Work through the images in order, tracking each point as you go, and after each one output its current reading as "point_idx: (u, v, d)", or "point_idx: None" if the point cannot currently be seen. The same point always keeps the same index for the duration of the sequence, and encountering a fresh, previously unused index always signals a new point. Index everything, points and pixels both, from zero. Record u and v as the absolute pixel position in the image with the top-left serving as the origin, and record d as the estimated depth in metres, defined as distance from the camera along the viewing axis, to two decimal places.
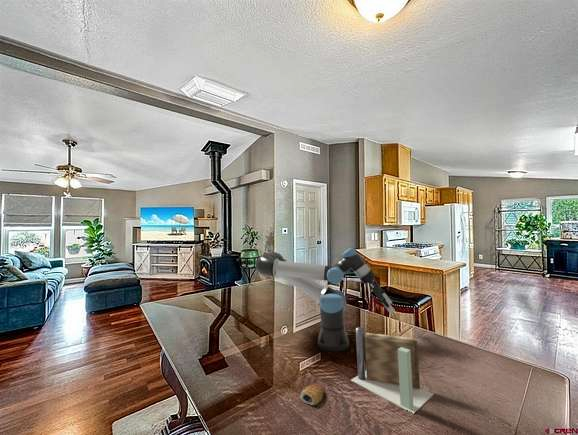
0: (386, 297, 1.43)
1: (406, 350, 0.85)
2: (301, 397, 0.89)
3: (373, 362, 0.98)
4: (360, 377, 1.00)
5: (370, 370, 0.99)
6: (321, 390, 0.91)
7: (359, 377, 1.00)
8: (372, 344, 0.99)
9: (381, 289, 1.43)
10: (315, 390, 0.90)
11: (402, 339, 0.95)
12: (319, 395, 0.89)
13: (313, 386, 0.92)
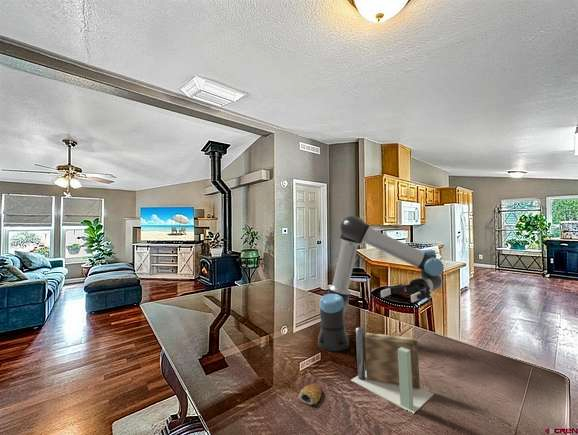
0: (387, 293, 1.17)
1: (406, 350, 0.85)
2: (299, 397, 0.89)
3: (373, 362, 0.98)
4: (360, 377, 1.00)
5: (370, 370, 0.99)
6: (319, 390, 0.92)
7: (359, 377, 1.00)
8: (372, 344, 0.99)
9: (394, 292, 1.20)
10: (313, 390, 0.90)
11: (402, 339, 0.95)
12: (318, 395, 0.89)
13: (311, 386, 0.92)
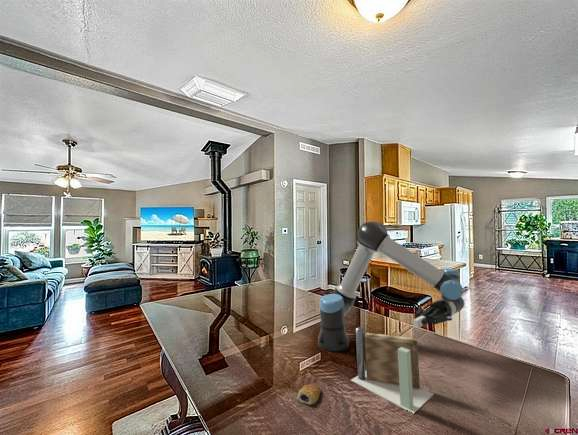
0: None
1: (406, 350, 0.85)
2: (298, 397, 0.89)
3: (373, 362, 0.98)
4: (360, 377, 1.00)
5: (370, 370, 0.99)
6: (318, 389, 0.92)
7: (359, 377, 1.00)
8: (372, 344, 0.99)
9: None
10: (312, 389, 0.90)
11: (402, 339, 0.95)
12: (316, 394, 0.89)
13: (310, 385, 0.93)
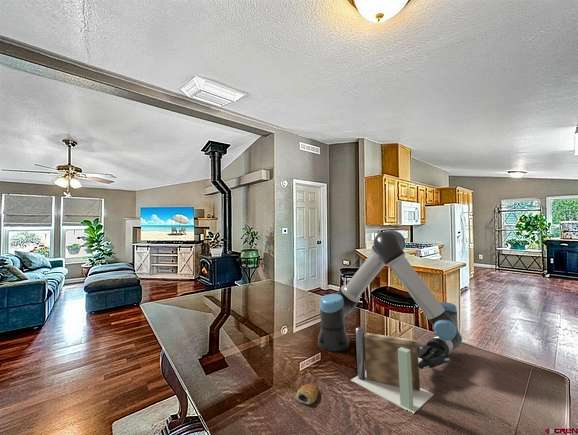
0: None
1: (406, 350, 0.85)
2: (296, 397, 0.89)
3: (373, 362, 0.98)
4: (360, 377, 1.00)
5: (370, 370, 0.99)
6: (316, 389, 0.92)
7: (359, 377, 1.00)
8: (371, 345, 0.99)
9: None
10: (310, 389, 0.90)
11: (402, 340, 0.94)
12: (315, 394, 0.90)
13: (308, 385, 0.93)
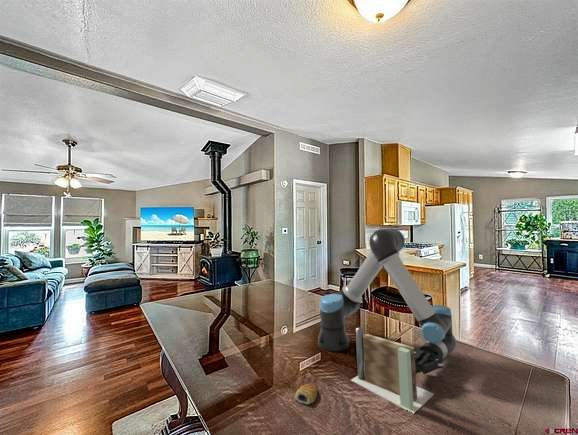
0: None
1: (406, 350, 0.85)
2: (296, 397, 0.89)
3: (371, 364, 0.97)
4: (360, 377, 1.00)
5: (368, 371, 0.98)
6: (315, 389, 0.92)
7: (359, 377, 1.00)
8: (369, 346, 0.98)
9: None
10: (310, 389, 0.90)
11: (398, 345, 0.90)
12: (314, 394, 0.90)
13: (307, 385, 0.93)
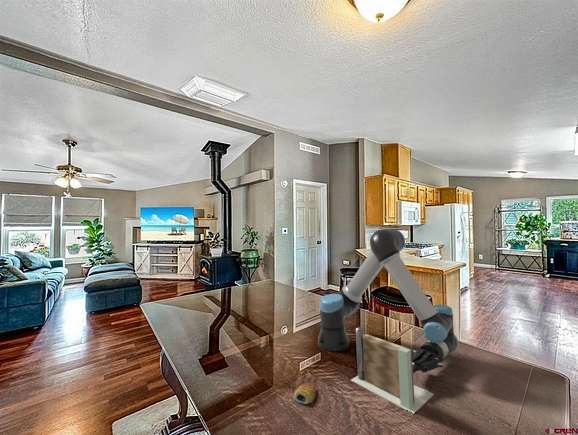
0: None
1: (406, 350, 0.85)
2: (294, 397, 0.89)
3: (370, 364, 0.97)
4: (360, 377, 1.00)
5: (367, 372, 0.98)
6: (313, 389, 0.92)
7: (359, 377, 1.00)
8: (368, 346, 0.97)
9: None
10: (308, 389, 0.91)
11: (395, 347, 0.89)
12: (313, 394, 0.90)
13: (305, 385, 0.93)
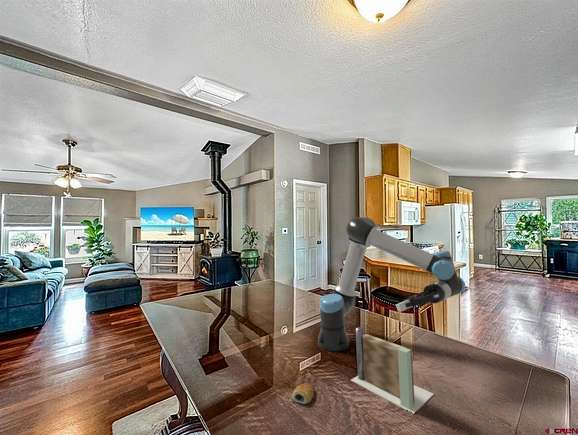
0: None
1: (406, 350, 0.85)
2: (293, 397, 0.89)
3: (370, 364, 0.97)
4: (360, 377, 1.00)
5: (367, 372, 0.98)
6: (312, 388, 0.93)
7: (359, 377, 1.00)
8: (368, 346, 0.97)
9: None
10: (306, 389, 0.91)
11: (395, 347, 0.89)
12: (311, 393, 0.90)
13: (304, 385, 0.93)
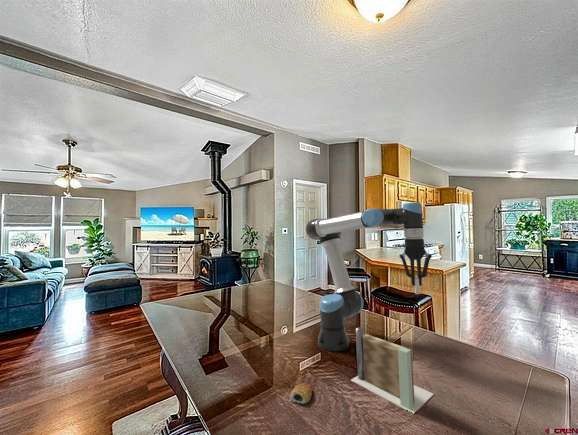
0: None
1: (406, 350, 0.85)
2: (291, 397, 0.89)
3: (370, 364, 0.97)
4: (360, 377, 1.00)
5: (367, 372, 0.98)
6: (310, 388, 0.93)
7: (359, 377, 1.00)
8: (368, 346, 0.97)
9: (419, 271, 1.12)
10: (305, 389, 0.91)
11: (395, 347, 0.89)
12: (309, 393, 0.90)
13: (302, 385, 0.93)
